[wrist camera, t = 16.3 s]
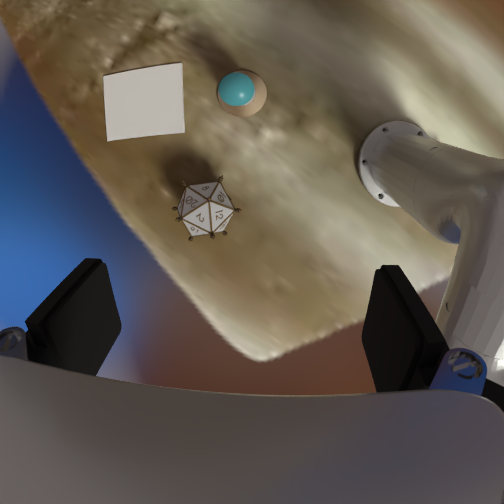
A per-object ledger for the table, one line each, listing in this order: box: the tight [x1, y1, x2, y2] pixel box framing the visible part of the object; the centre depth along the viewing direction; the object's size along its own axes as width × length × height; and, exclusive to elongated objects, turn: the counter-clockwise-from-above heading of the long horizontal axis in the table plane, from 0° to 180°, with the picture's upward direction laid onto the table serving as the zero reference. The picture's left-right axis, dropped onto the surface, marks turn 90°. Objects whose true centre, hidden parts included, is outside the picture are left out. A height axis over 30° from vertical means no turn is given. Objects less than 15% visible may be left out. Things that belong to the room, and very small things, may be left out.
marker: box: [219, 72, 256, 106], centre depth 34 cm, size 4×4×9 cm
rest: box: [218, 71, 267, 117], centre depth 39 cm, size 6×6×1 cm
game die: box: [172, 175, 242, 242], centre depth 42 cm, size 9×8×10 cm
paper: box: [103, 63, 185, 141], centre depth 39 cm, size 12×10×1 cm
